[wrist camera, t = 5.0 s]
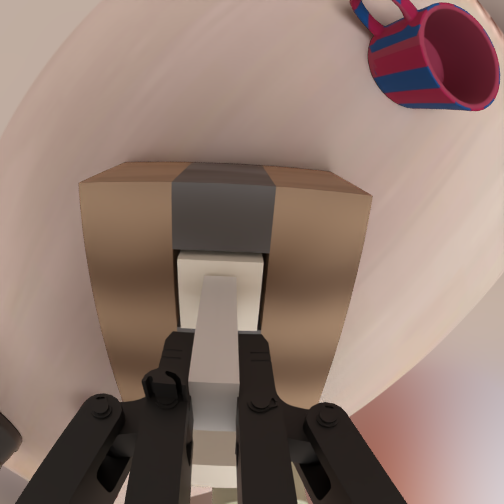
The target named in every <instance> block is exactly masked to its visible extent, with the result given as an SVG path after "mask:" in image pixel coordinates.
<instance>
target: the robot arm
mask: <svg viewBox="0 0 504 504" xmlns="http://www.w3.org/2000/svg"><path fill="white" fill-rule="evenodd" d="M141 382H142V386H143V390H144V393H145V397H143V398H141V399H138V400H134V401H127V402H119V401H118V399H117V398H115V397H113V396H112V395H108V394H96V395H94V396H92V397H90V398H89V399H87V400H86V401H85V402H84V404H83V405H82V407H81V408H80V409H79V411H78V412H77V413H76V415H75V416H74V418H73V419H72V420H71V422H70V423H69V425H68V426H67V427H66V429H65V430H64V432H63V433H62V434H61V436H60V437H59V439H58V440H57V442H56V443H55V444H54V446H53V447H52V449H51V450H50V452H49V453H48V455H47V456H46V458H45V459H44V460H43V462H42V463H41V465H40V466H39V468H38V469H37V471H36V472H35V474H34V475H33V477H32V478H31V480H30V481H29V483H28V485H27V486H26V488H25V489H24V491H23V492H22V494H21V495H20V497H19V498H18V500H17V502H16V503H15V504H113V503H114V501H115V499H116V497H117V495H118V493H119V491H120V489H121V487H122V485H123V483H124V482H125V480H126V478H127V476H128V474H129V472H130V474H129V480H128V485H127V491H126V497H125V503H124V504H190V493H191V474H192V458H193V437H192V436H193V428H194V430H205V431H233V432H236V446H235V454H236V474H237V501H238V504H298V502H297V496H296V489H295V483H294V477H293V471H292V464H291V462H293V464H294V466H295V468H296V470H297V472H298V474H299V476H300V478H301V480H302V482H303V484H304V486H305V488H306V490H307V492H308V494H309V496H310V498H311V500H312V502H313V504H407V503H406V501H405V500H404V498H403V497H402V495H401V494H400V492H399V491H398V490H397V488H396V486H395V485H394V484H393V482H392V481H391V479H390V478H389V476H388V475H387V473H386V472H385V470H384V469H383V467H382V466H381V464H380V463H379V461H378V460H377V458H376V457H375V455H374V454H373V452H372V451H371V449H370V448H369V446H368V445H367V443H366V442H365V440H364V439H363V437H362V436H361V434H360V433H359V431H358V430H357V428H356V427H355V425H354V424H353V422H352V421H351V419H350V418H349V416H348V415H347V413H346V412H345V411H344V410H343V409H342V408H341V407H339V406H337V405H335V404H333V403H327V402H324V403H318V404H316V405H314V406H312V407H311V408H310V409H304V408H299V407H295V406H292V405H289V404H287V403H285V402H284V401H283V400H282V399H280V397H279V396H278V394H277V392H276V388H275V382H274V375H273V369H272V362H271V356H270V350H269V343H268V341H267V340H266V339H265V338H264V336H263V335H262V334H238V324H237V288H236V277H230V276H206V275H204V279H203V285H202V291H201V297H200V303H199V310H198V316H197V323H196V329H195V333H193V332H177V331H173V332H172V333H171V334H170V335H169V336H168V337H167V338H166V339H165V343H164V347H163V351H162V355H161V359H160V363H159V367H158V368H157V369H154V370H151V371H149V372H148V373H147V374H145V375H144V377H143V379H142V381H141ZM21 443H22V438H21V436H20V434H19V433H18V431H17V430H16V429H15V428H14V427H13V425H12V424H11V423H10V422H9V421H8V420H7V419H6V418H5V417H4V416H3V415H1V414H0V469H1V467H2V465H3V464H4V463H5V462H6V461H7V460H8V459H9V458H10V457H11V456H12V455H13V453H14V452H16V451H18V449H19V447H20V445H21Z"/></svg>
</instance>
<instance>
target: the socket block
mask: <svg viewBox="0 0 504 504" xmlns="http://www.w3.org/2000/svg"><path fill="white" fill-rule="evenodd" d="M79 197H80V209H81V219H82V228H83V236H84V243H85V250H86V257H87V263H88V269H89V275H90V281H91V286H92V291H93V296H94V301H95V305H96V310H97V314H98V319H99V323H100V327H101V331H102V335H103V339H104V342H105V346H106V350H107V353H108V357H109V360H110V364H111V367H112V370H113V373H114V377H115V380H116V383H117V386H118V389H119V392H120V395H121V398H122V400H123V402H127V401H134V400H138V399H141V398H143V397H145V393H144V390H143V386H142V382H141V381H142V379H143V377H144V375H145V374H147V373H148V372H149V371H151V370H154V369H157V368H158V367H159V363H160V359H161V355H162V351H163V347H164V343H165V339H166V338H167V337H168V336H169V335H170V334H171V333H172V332H173V331H177V332H193V333H195V329H190V328H181V322H180V307H179V289H178V266H177V259H178V256H179V253H180V251H181V250H204V251H228V252H252V253H262V257H263V262H264V265H263V275H262V285H261V295H260V305H259V315H258V325H257V331H238V334H262V335H263V336H264V338H265V339H266V340H267V341H268V343H269V350H270V356H271V362H272V369H273V375H274V382H275V388H276V392H277V394H278V396H279V397H280V399H282V400H283V401H284V402H285V403H287V404H289V405H292V406H295V407H299V408H304V409H310V408H311V407H312V406H314V405H316V404H318V402H319V399H320V396H321V394H322V391H323V388H324V385H325V382H326V379H327V376H328V373H329V370H330V367H331V364H332V361H333V358H334V355H335V351H336V348H337V345H338V342H339V338H340V335H341V332H342V328H343V325H344V321H345V318H346V314H347V310H348V307H349V303H350V299H351V295H352V291H353V287H354V283H355V279H356V275H357V271H358V267H359V262H360V258H361V253H362V249H363V244H364V239H365V235H366V230H367V224H368V219H369V214H370V208H371V203H372V197H373V196H372V195H370V194H369V193H367V192H365V191H363V190H362V189H360V188H358V187H357V186H355V185H353V184H351V183H350V182H348V181H346V180H344V179H342V178H341V177H339V176H337V175H335V174H333V173H332V172H328V171H319V170H310V169H300V168H289V167H277V166H263V165H248V164H229V163H202V162H125V163H123V164H120V165H118V166H115V167H113V168H111V169H108V170H106V171H104V172H102V173H99V174H97V175H95V176H93V177H90V178H88V179H86V180H84V181H82V182H80V183H79Z"/></svg>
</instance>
